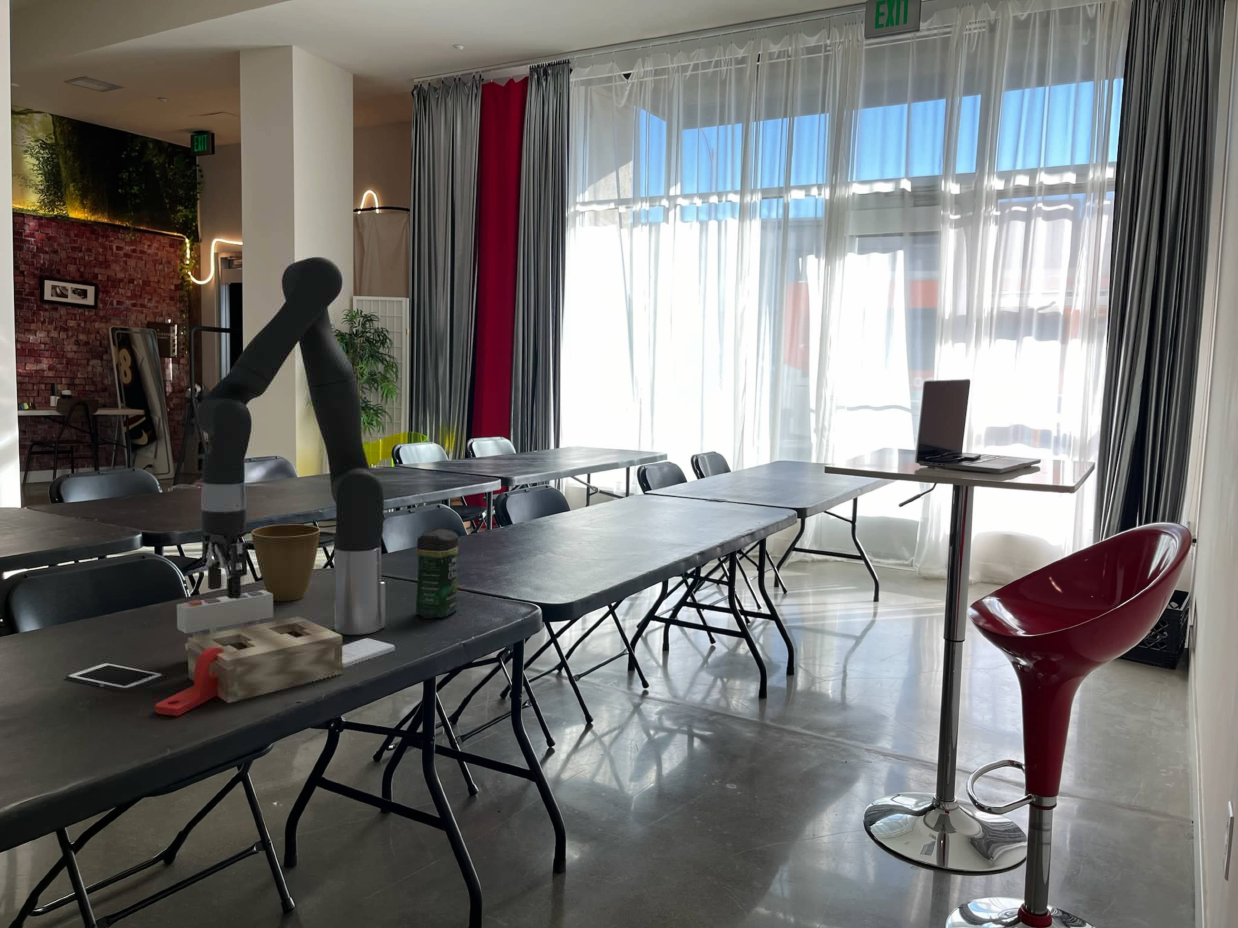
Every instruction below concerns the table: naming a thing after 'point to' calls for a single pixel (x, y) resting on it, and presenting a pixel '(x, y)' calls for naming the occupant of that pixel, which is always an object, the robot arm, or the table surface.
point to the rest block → (226, 628)
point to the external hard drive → (364, 651)
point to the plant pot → (286, 558)
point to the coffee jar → (437, 574)
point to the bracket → (194, 687)
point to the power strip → (223, 612)
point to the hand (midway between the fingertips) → (224, 593)
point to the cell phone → (115, 677)
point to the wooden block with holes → (269, 657)
